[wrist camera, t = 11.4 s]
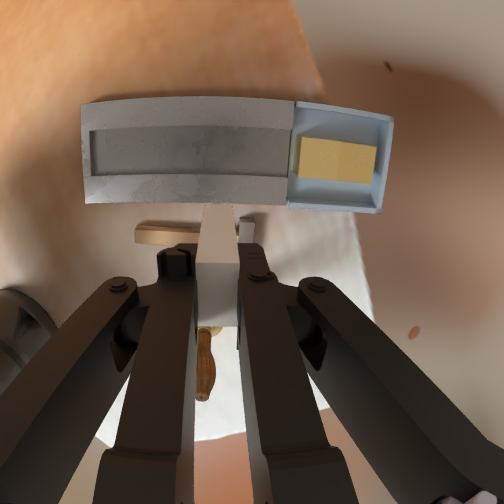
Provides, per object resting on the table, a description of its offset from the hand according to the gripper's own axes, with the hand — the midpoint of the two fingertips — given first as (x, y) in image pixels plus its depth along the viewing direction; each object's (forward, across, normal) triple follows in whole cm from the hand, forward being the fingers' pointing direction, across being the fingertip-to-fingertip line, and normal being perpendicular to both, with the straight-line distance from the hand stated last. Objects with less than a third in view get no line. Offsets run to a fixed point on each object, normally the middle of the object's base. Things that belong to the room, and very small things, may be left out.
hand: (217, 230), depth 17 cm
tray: (+17, +13, +2) cm, 21 cm away
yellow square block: (+17, +10, +2) cm, 19 cm away
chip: (+17, +14, +2) cm, 22 cm away
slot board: (+18, -4, +2) cm, 18 cm away
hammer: (+18, -3, -7) cm, 20 cm away
